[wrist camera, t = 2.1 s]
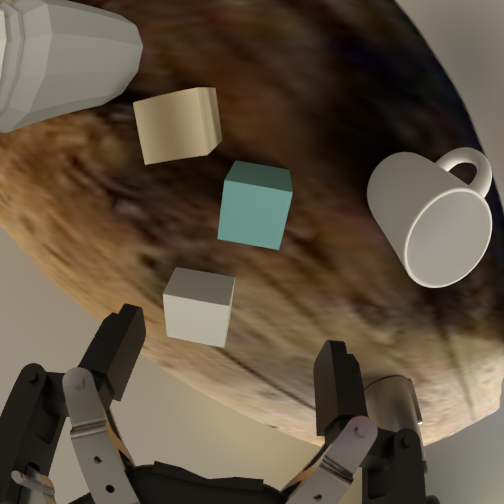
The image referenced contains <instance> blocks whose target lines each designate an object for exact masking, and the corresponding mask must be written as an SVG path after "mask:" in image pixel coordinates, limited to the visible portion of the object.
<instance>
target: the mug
mask: <svg viewBox="0 0 504 504" xmlns="http://www.w3.org/2000/svg"><path fill="white" fill-rule="evenodd" d="M462 162H470V163H472V164H474V165H475V166H476V167H477V175H476V177H475V179H474V180H473V182H472V183H471V184H470V185H469V186H468V185H467V184H465V183H464V182H462V181H461V180H459V179H458V178H456V177H455V176H454V175H452V174H451V173H449V172H448V171H449V170H450V169H451V168H452V167H454V166H455V165H457V164H459V163H462ZM491 180H492V171H491V166H490V164H489V161H488V160H487V158H486V157H485V156H484V155H483V154H482V153H481V152H479V151H477V150H475V149H472V148H458V149H455V150H452V151H450V152H448V153H447V154H445V155H444V156H443V157H441V158H440V159H439V160H438V161H437V162H436V163H433V162H431V161H430V160H428V159H426V158H424V157H422V156H420V155H418V154H415V153H411V152H400V153H395V154H392V155H390V156H388V157H387V158H385V159H384V160H383V161H381V162H380V163H379V164H378V166H377V167H376V168H375V170H374V171H373V173H372V175H371V177H370V180H369V183H368V188H367V199H368V204H369V208H370V210H371V212H372V214H373V216H374V218H375V219H376V221H377V223H378V224H379V226H380V227H381V229H382V230H383V232H384V234H385V235H386V237H387V239H388V240H389V242H390V243H391V245H392V247H393V248H394V250H395V252H396V253H397V255H398V257H399V259H400V260H401V262H402V264H403V266H404V267H405V269H406V271H407V273H408V274H409V276H410V277H411V278H412V279H413V280H414V281H415V282H417V283H418V284H420V285H423V286H426V287H432V288H436V287H444V286H447V285H450V284H452V283H455V282H457V281H458V280H460V279H462V278H463V277H464V276H466V275H467V274H468V273H469V272H470V271H471V270H472V269H473V268H474V267H475V266H476V265H477V264H478V262H479V261H480V259H481V258H482V256H483V255H484V253H485V251H486V249H487V246H488V243H489V240H490V236H491V231H492V217H491V212H490V209H489V206H488V204H487V202H486V200H485V199H484V197H485V196H486V194H487V192H488V190H489V187H490V184H491Z"/></svg>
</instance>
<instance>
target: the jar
mask: <svg viewBox="0 0 504 504" xmlns="http://www.w3.org/2000/svg"><path fill="white" fill-rule="evenodd" d="M142 49H143V45H142V42H141V39H140V36H139V32H138V29H137V26H136V25H135V24H133V23H132V22H130V21H129V20H127V19H125V18H124V17H122V16H120V15H118V14H115V13H112V12H109V11H105V10H102V9H99V8H95V7H91V6H88V5H84V4H80V3H75V2H71V1H66V0H16V1H14V2H12V3H10V4H9V3H2V4H0V132H5V133H9V132H11V131H14V130H17V129H19V128H22V127H25V126H28V125H31V124H33V123H36V122H40V121H43V120H46V119H49V118H52V117H56V116H59V115H63V114H67V113H70V112H74V111H78V110H82V109H86V108H91V107H95V106H100V105H103V104H104V103H106V102H108V101H110V100H111V99H113V98H115V97H117V96H119V95H120V94H122V93H123V91H124V90H125V89H126V87H127V86H128V84H129V83H130V82H131V80H132V79H133V77H134V76H135V75H136V73H137V72H138V67H139V62H140V58H141V53H142Z"/></svg>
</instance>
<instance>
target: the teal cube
mask: <svg viewBox="0 0 504 504" xmlns="http://www.w3.org/2000/svg"><path fill="white" fill-rule="evenodd" d="M292 193H293V191H292V184H291V177H290V171H289V170H286V169H281V168H276V167H271V166H265V165H260V164H254V163H248V162H242V161H235V162H234V164H233V166H232V168H231V169H230V171H229V173H228V175H227V177H226V178H225V180H224V188H223V196H222V204H221V213H220V221H219V230H218V239H221V240H226V241H232V242H238V243H243V244H249V245H254V246H260V247H266V248H271V249H277V250H279V247H280V243H281V239H282V235H283V231H284V227H285V223H286V219H287V214H288V210H289V206H290V202H291V198H292Z"/></svg>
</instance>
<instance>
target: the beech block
mask: <svg viewBox="0 0 504 504" xmlns="http://www.w3.org/2000/svg"><path fill="white" fill-rule="evenodd" d="M133 105H134V111H135V117H136V122H137V127H138V133H139V138H140V143H141V148H142V152H143V157H144V162H145V165H147V164H152V163H158V162H164V161H170V160H176V159H182V158H189V157H196V156H204V155H208V154H209V153H210V152H211V151H212V150H213V149H214V148H215V147H216V146H217V145H218V144H219V143H220V142H221V141H222V133H221V126H220V119H219V112H218V104H217V97H216V89H215V88H201V87H197V88H192V89H187V90H182V91H177V92H173V93H168V94H164V95H160V96H156V97H152V98H148V99H144V100H141V101H137V102H134V103H133Z"/></svg>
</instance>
